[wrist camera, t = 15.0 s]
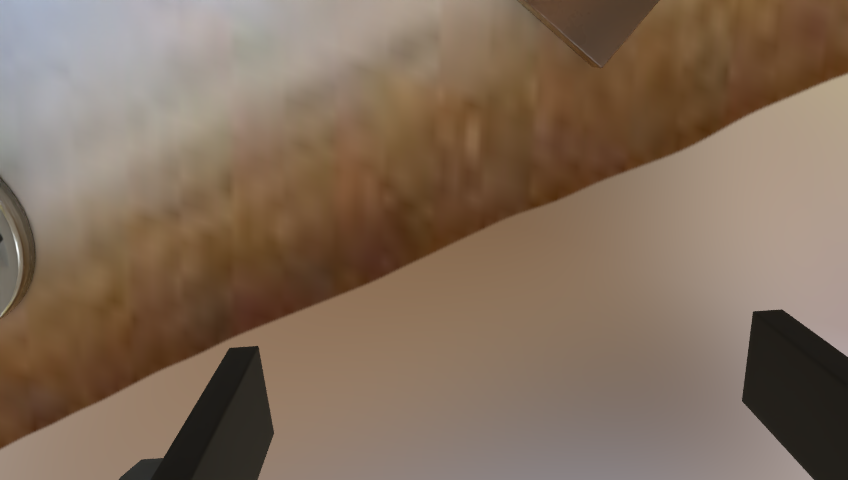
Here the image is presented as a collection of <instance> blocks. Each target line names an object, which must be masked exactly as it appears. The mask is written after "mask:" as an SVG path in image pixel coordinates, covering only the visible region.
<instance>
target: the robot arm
mask: <svg viewBox="0 0 848 480" xmlns="http://www.w3.org/2000/svg"><path fill="white" fill-rule="evenodd" d="M34 264H35V250H34V242H33V237H32V232H31V229H30V226H29V223H28V220H27V218H26V216H25V213H24V211H23V209H22V208H21V206H20V204H19V202H18V201H17V199H16V197H15V196H14V194H13V193H12V192H11V190H10V189H9V188H8V186H7V185H6V184H5V183H4V182H3V181H2V180H1V178H0V319H1V318H3V317H4V316H6V315H7V314H8V313H10V312H11V311H12V310H13V309H14V308H15V307H16V306H17V305H18V304H19V303H20V301H21V300H22V298H23V297H24V296H25V294H26V292H27V290H28V288H29V285H30V283H31V280H32V276H33V272H34ZM742 401H743V403H744V404H745V405H746V406H747V407H748V408H749V409H750V410H751V411H752V412H753V413H754V415H755V416H756V417H757V418H758V419H759V420H760V421H761V422H762V423H763V424H764V425H765V426H766V428H767V429H768V430H769V431H770V432H771V433H772V434H773V435H774V436H775V437H776V439H777V440H778V441H779V442H780V443H781V444H782V445H783V446H784V447H785V448H786V449H787V451H788V452H789V453H790V454H791V455H792V456H793V457H794V458H795V459H796V460H797V462H798V463H799V464H800V465H801V466H802V467H803V468H804V469H805V470H806V471H807V472H808V473H809V475H810V476H811V477H812V478H813V479H814V480H848V357H847V356H845V355H844V354H843V353H841V352H840V351H838V350H837V349H836V348H834V347H833V346H832V345H830V344H829V343H828V342H826V341H824V340H823V339H822V338H821V337H819V336H818V335H816V334H815V333H814V332H812V331H811V330H810V329H808V328H807V327H805V326H804V325H803V324H801V323H800V322H799V321H797V320H796V319H794V318H793V317H792V316H790V315H789V314H788V313H786V312H785V311H783V310H768V311H755V312H753V316H752V325H751V332H750V341H749V349H748V357H747V366H746V373H745V381H744V389H743V398H742ZM273 434H274V431H273V425H272V419H271V415H270V408H269V403H268V397H267V392H266V387H265V381H264V376H263V369H262V364H261V359H260V353H259V348H258V346H253V347H238V348H229V350H228V352H227V353H226V355H225V357H224V358H223V360H222V361H221V363H220V365H219V367H218V368H217V370H216V371H215V373H214V375H213V376H212V378H211V380H210V382H209V383H208V385H207V386H206V388H205V390H204V392H203V393H202V395H201V397H200V398H199V400H198V401H197V403H196V405H195V406H194V408H193V410H192V412H191V413H190V415H189V417H188V418H187V420H186V421H185V423H184V425H183V426H182V428H181V430H180V431H179V433H178V435H177V436H176V438H175V440H174V441H173V443H172V445H171V446H170V448H169V450H168V452H167V453H166V455H165V456H164V458H158V459H144V460H141V461H139V462H138V463H137V464H136V465H135V466H133V467H132V468H131V469H130V470H129V471H127V472H126V473H125V474H124V475H123V476H121V478H120V479H119V480H257V479H258V476H259V474H260V471H261V468H262V465H263V463H264V460H265V457H266V454H267V451H268V448H269V445H270V443H271V440H272V437H273Z"/></svg>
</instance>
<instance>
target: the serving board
mask: <svg viewBox="0 0 848 480" xmlns="http://www.w3.org/2000/svg"><path fill="white" fill-rule="evenodd" d="M517 1H518V2H520V3H521V4H522V5H523V6H524V7H525V8H526V9H528V10H529V11H530V12H531V13H532V14H533V15H534V16H535V17H537V18H538V19H539V20H540V21H541V22H542V23H543V24H545V25H546V26H547V27H548V28H549V29H550V30H551V31H552V32H554V33H555V34H556V35H557V36H558V37H559V38H560V39H562V40H563V41H564V42H565V43H566V44H567V45H568V46H570V47H571V48H572V49H573V50H574V51H575V52H576V53H577V54H579V55H580V56H581V57H582V58H583V59H584V60H585V61H587V62H588V63H589V64H590V65H591V66H592V67H597V68H603V66H604V65H605V64H606V63H607V62H608V60H609V59H610V58H611V57H612V56H613V55H614V53H615V52H616V51H617V50H618V49H619V47H620V46H621V45H622V44H623V43H624V42H625V40H626V39H627V38H628V37H629V36H630V34H631V33H632V32H633V31H634V30H635V29H636V27H637V26H638V25H639V24H640V23H641V21H642V20H643V19H644V18H645V17H646V16H647V14H648V13H649V12H650V11H651V10H652V8H653V7H654V6H655V5H656V4H657V3H658V1H659V0H517Z"/></svg>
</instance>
